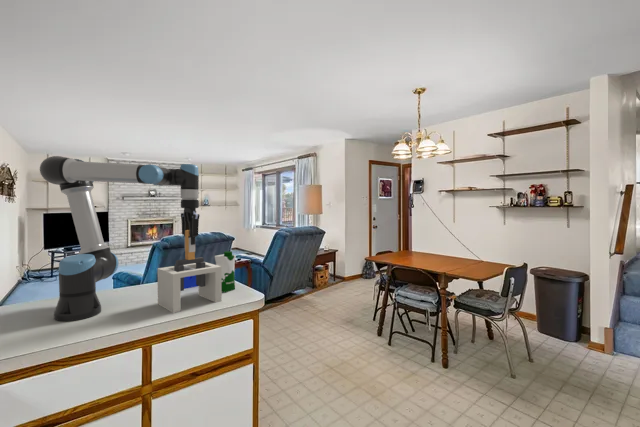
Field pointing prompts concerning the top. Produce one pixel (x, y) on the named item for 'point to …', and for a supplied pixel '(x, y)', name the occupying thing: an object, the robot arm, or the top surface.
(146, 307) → the top surface
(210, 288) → the light grey open-top stand
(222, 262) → the milk carton
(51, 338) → the top surface
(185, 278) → the bracket
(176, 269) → the wooden handle u-frame
